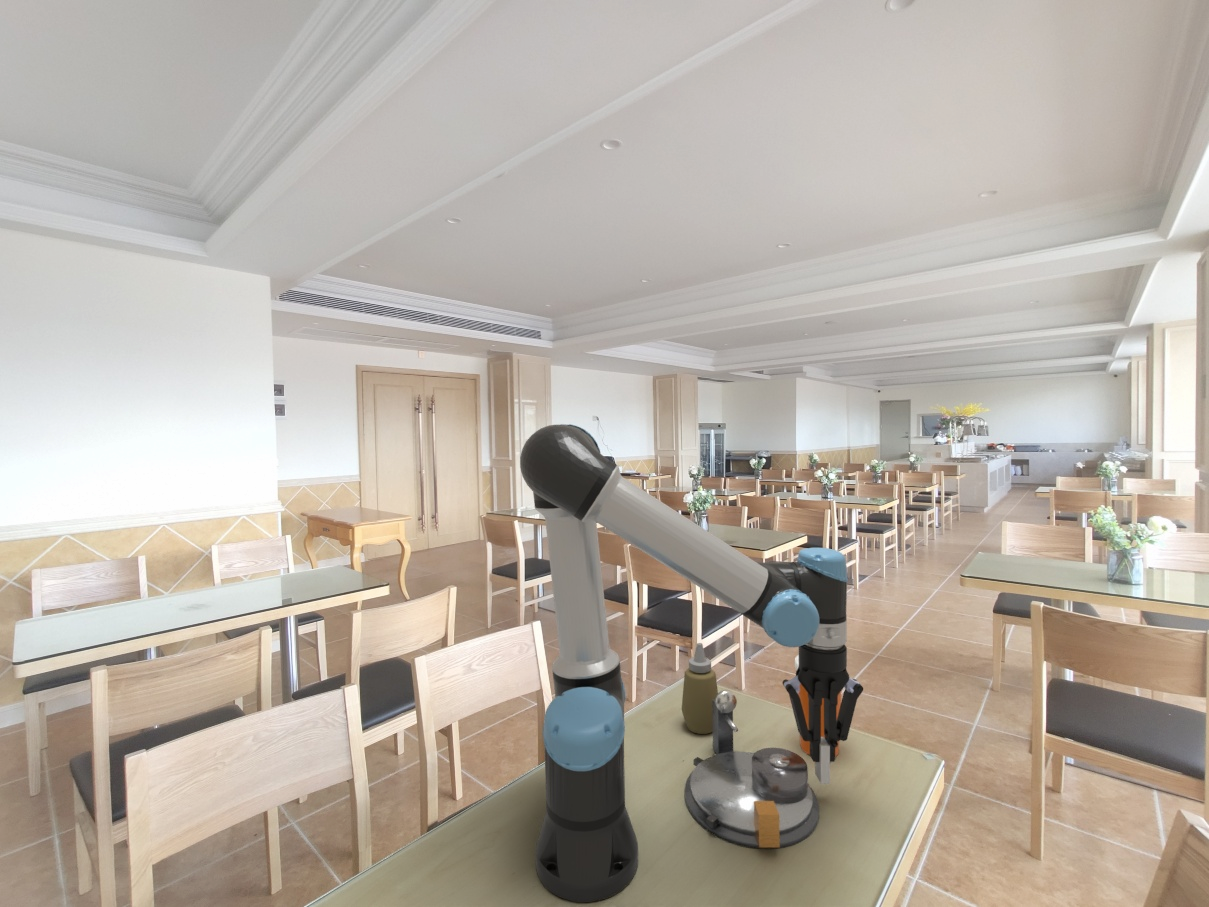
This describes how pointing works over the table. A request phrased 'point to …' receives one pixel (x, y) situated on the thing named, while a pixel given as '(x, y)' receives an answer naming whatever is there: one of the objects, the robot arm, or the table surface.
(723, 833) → the turntable base
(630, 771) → the table surface
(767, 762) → the cover
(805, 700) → the shaker bottle
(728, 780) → the platter
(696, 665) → the squeeze bottle
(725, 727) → the indicator post
